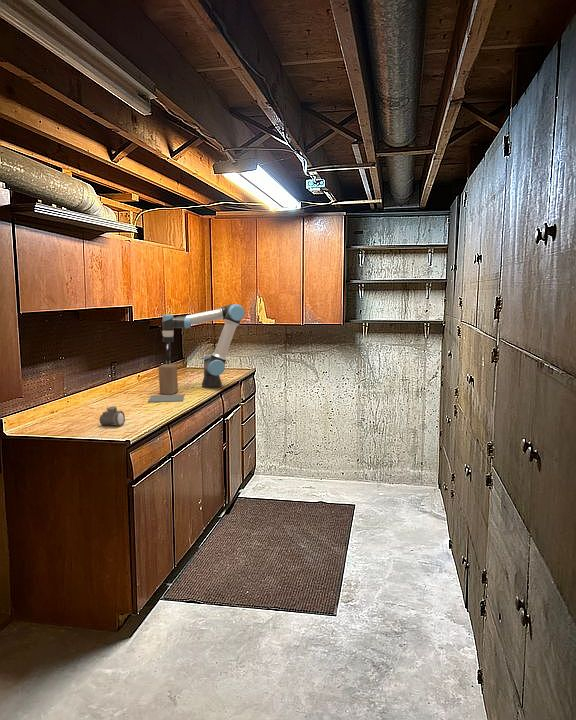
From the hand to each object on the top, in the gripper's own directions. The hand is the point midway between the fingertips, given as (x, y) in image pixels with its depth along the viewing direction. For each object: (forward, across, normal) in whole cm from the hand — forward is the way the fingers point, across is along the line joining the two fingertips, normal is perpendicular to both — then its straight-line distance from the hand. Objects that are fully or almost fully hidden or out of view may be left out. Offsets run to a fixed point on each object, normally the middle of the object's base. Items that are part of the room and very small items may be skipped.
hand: (168, 369), depth 392 cm
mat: (+16, +28, +1) cm, 32 cm away
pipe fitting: (+16, +101, -21) cm, 104 cm away
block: (+16, +7, +1) cm, 17 cm away
